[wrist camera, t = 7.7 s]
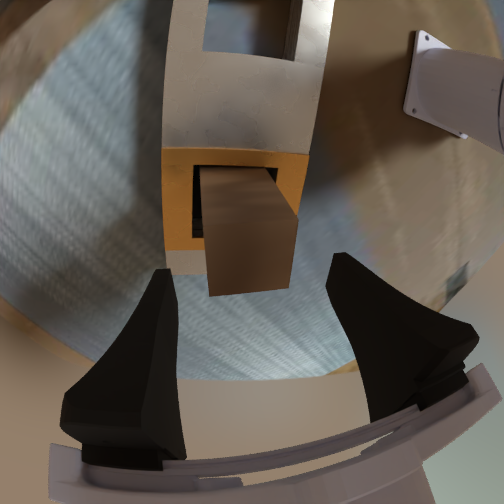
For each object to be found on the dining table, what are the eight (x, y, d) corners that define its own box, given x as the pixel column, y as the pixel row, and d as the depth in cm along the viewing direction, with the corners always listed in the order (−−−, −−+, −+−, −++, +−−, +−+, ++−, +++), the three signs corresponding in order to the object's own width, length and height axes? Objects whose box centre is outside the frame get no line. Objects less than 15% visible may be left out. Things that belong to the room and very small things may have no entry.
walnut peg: (256, 155, 19) (298, 219, 12) (255, 205, 21) (288, 288, 14) (199, 158, 18) (202, 226, 11) (202, 209, 21) (209, 296, 14)
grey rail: (322, -32, 10) (340, -43, 8) (275, 253, 24) (283, 273, 22) (188, -52, 8) (188, -68, 6) (168, 254, 22) (167, 276, 20)
